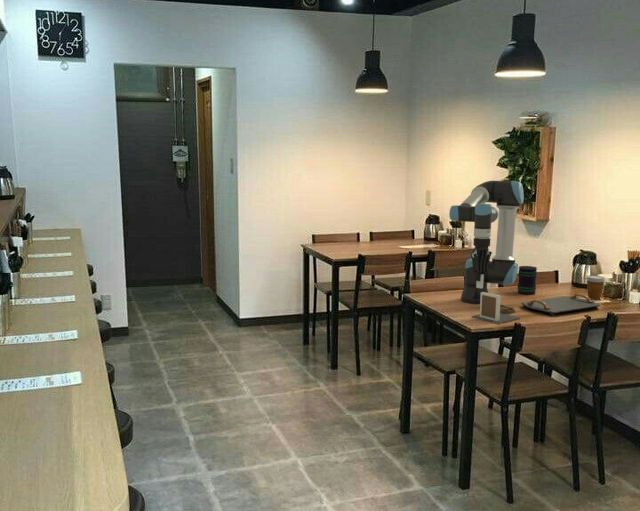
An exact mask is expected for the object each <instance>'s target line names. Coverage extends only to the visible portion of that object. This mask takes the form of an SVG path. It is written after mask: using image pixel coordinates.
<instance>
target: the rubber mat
mask: <svg viewBox="0 0 640 511" xmlns="http://www.w3.org/2000/svg"><path fill="white" fill-rule="evenodd" d="M473 317H475V318H474V319H477V318H479V319H478V320H480V319H483V320H482V321H484V320H487V321H486V322H488V321H491V322H490V323H492V322H495V323H494V324H496V323H498V324H497V325H501V324H500V323H503V324H505V323H504V322H506V323H510V322H513V320H514V321H518V320H520V319H521V318H520V316H519V317H518V316H514V315H510V314H502V313H500V319H499V321H495V320H491V319H487V318H483V317H480V313H479V314H475V315H471V318H473ZM509 321H510V322H509Z"/></svg>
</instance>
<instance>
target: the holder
mask: <svg viewBox="0 0 640 511" xmlns="http://www.w3.org/2000/svg"><path fill="white" fill-rule="evenodd" d="M500 313H502V314H507V315H510V314H513V313H516V309H515V308H514V307H513V306H507V305H505V304H500Z"/></svg>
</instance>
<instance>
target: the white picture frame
mask: <svg viewBox="0 0 640 511" xmlns="http://www.w3.org/2000/svg"><path fill="white" fill-rule="evenodd" d="M501 299H502V298H501V295H499V294H494V293H489V292H488V293H486V292H481V297H480V304H479V314H480V317H483V318H487V319H491V320H495V321H499V319H500V305H501Z"/></svg>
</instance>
